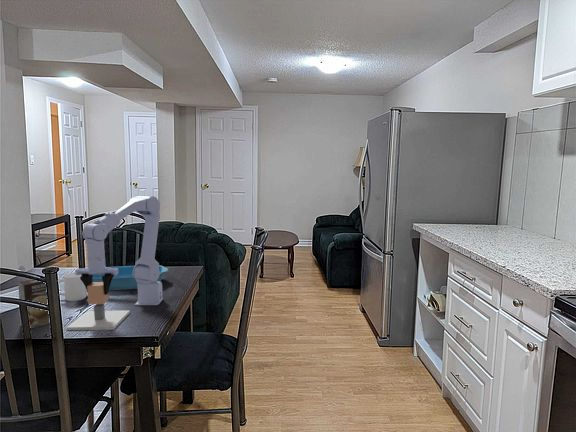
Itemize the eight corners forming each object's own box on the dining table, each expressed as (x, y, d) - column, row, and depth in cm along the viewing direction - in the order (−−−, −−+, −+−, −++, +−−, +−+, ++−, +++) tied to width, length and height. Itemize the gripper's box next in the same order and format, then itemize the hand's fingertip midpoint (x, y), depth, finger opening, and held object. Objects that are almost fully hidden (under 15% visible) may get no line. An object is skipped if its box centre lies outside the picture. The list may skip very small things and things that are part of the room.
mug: (52, 302, 170) (50, 278, 168) (59, 296, 178) (57, 273, 176) (83, 300, 172) (82, 276, 171) (89, 294, 180) (87, 271, 179)
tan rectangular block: (109, 299, 151) (108, 281, 151) (103, 304, 146) (102, 286, 145) (94, 299, 151) (93, 282, 150) (88, 304, 146) (87, 286, 145)
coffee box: (27, 330, 142) (23, 285, 140) (20, 325, 146) (16, 281, 144) (55, 322, 149) (52, 279, 147) (48, 318, 153) (45, 276, 151)
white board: (129, 312, 158) (129, 297, 157) (113, 329, 142) (112, 312, 141) (87, 313, 157) (86, 298, 157) (66, 330, 142) (65, 313, 141)
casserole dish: (169, 276, 210) (169, 262, 209) (167, 289, 189) (166, 274, 188) (92, 281, 202) (91, 266, 201) (79, 295, 181) (78, 279, 180)
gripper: (70, 259, 143) (72, 297, 144) (112, 259, 143) (114, 297, 145) (79, 255, 150) (82, 291, 151) (119, 255, 150) (121, 291, 152)
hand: (98, 293), depth 148 cm, fingers closed on tan rectangular block, 5 cm apart
